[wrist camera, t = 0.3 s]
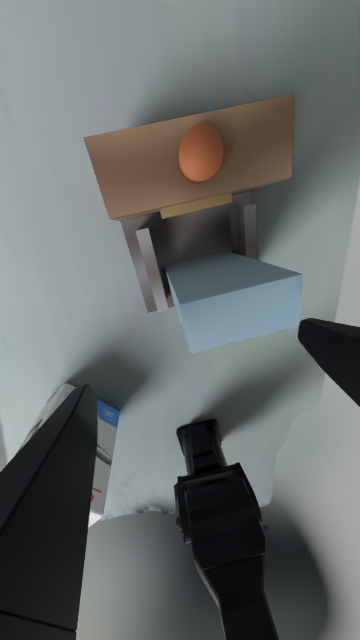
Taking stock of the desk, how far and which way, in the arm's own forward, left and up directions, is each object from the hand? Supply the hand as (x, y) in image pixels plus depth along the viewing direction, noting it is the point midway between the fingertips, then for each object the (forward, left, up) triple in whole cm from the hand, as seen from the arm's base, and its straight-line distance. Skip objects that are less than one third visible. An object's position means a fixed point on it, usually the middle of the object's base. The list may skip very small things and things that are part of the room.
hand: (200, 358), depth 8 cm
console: (+4, -3, -15) cm, 16 cm away
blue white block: (0, -3, -14) cm, 14 cm away
